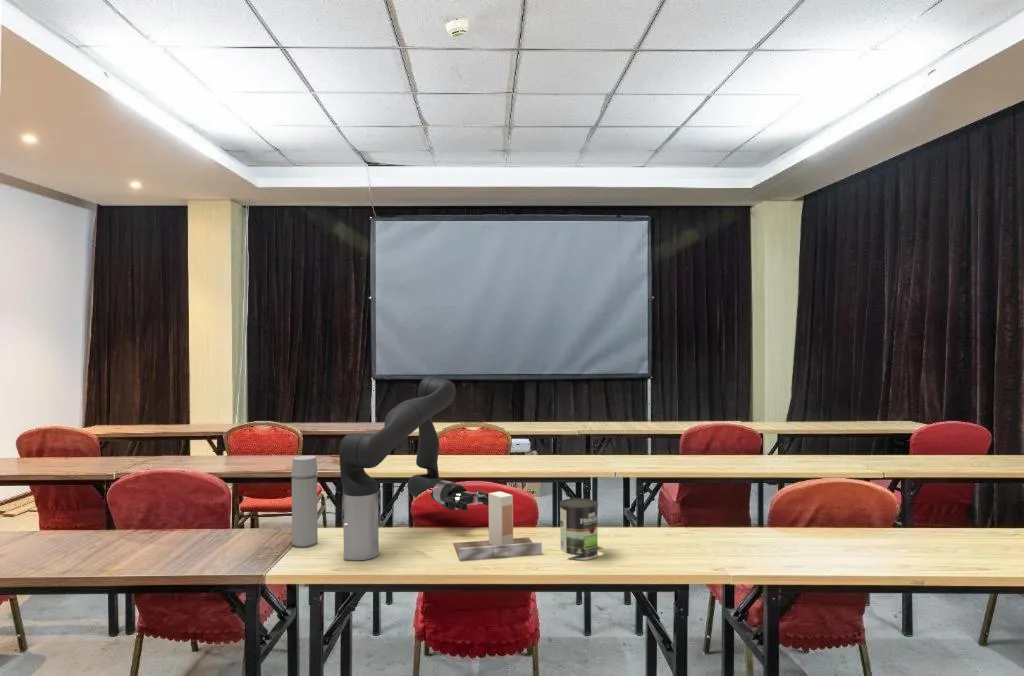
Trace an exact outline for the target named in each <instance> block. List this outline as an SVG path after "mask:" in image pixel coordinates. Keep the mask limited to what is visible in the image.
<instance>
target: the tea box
mask: <svg viewBox="0 0 1024 676" xmlns="http://www.w3.org/2000/svg"><path fill="white" fill-rule="evenodd" d="M488 494H489V506H488V540H489V543H490V544H492V545H494V546H495V545H508V544H513V538H514V499H513V498H514V494H511V493H507V492H504V491H493V492H488Z"/></svg>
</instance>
